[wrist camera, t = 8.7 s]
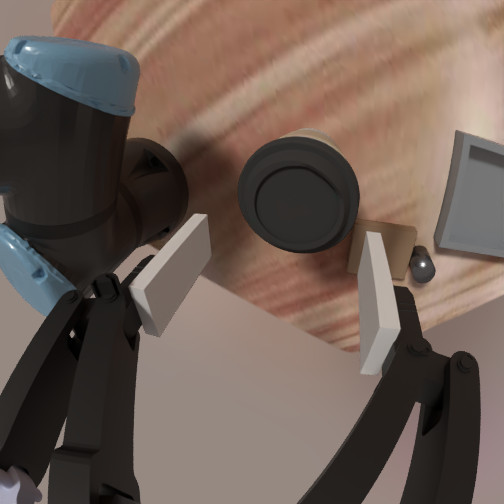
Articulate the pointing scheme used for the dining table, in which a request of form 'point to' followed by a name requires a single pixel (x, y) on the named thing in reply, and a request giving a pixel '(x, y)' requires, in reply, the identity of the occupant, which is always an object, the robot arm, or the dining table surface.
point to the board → (395, 244)
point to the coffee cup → (299, 192)
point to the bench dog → (421, 265)
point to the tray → (473, 198)
